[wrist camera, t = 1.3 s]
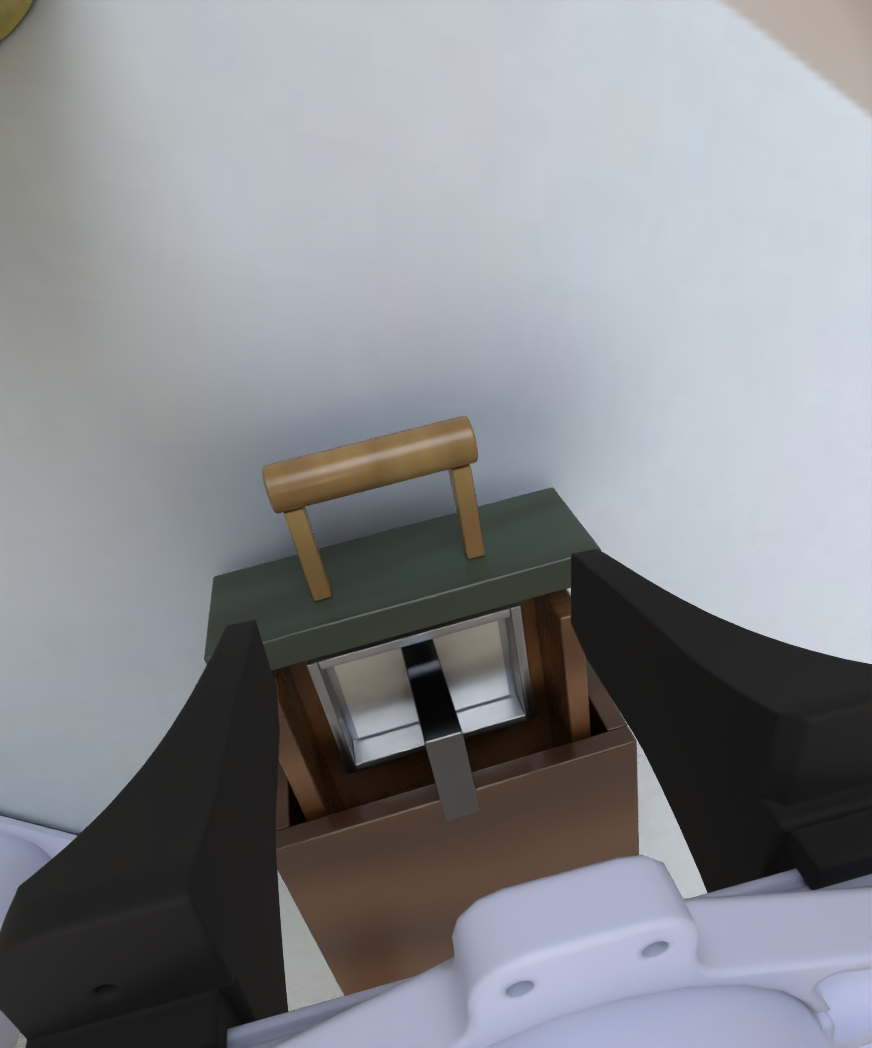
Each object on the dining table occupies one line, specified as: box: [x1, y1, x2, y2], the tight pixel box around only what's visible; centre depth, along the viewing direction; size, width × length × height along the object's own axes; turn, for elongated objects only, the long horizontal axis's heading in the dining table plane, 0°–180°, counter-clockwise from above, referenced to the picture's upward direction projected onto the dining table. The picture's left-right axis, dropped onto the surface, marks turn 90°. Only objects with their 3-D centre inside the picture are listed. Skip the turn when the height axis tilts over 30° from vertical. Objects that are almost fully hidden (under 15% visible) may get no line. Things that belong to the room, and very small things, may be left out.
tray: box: [306, 602, 536, 821], centre depth 24 cm, size 6×8×5 cm
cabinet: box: [276, 656, 639, 996], centre depth 31 cm, size 17×14×6 cm
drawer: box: [204, 416, 601, 822], centre depth 25 cm, size 20×12×4 cm, turn 10°
